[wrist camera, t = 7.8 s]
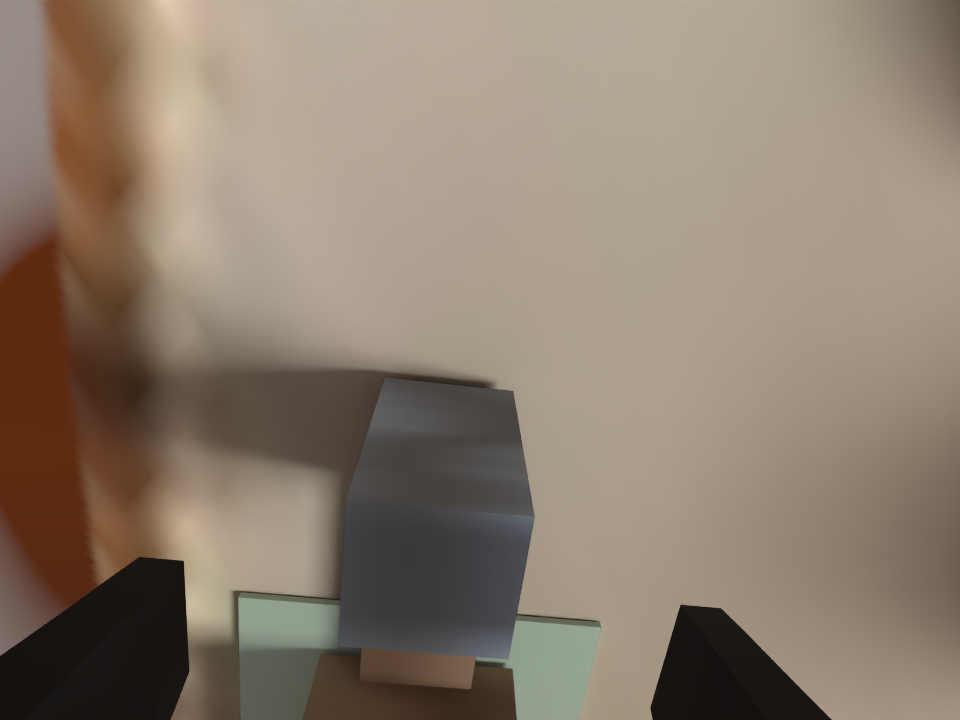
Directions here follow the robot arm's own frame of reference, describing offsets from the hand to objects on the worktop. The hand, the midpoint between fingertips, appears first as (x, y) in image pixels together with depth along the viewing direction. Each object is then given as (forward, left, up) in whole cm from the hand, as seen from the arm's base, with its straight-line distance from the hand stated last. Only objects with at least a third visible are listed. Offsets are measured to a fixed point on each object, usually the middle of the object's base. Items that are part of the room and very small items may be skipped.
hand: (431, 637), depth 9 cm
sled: (0, +7, -6) cm, 9 cm away
